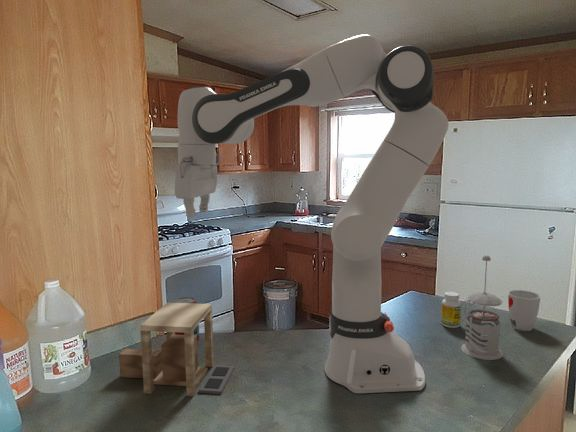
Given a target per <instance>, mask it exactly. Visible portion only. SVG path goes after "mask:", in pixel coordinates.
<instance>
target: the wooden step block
mask: <svg viewBox="0 0 576 432" xmlns="http://www.w3.org/2000/svg"><path fill="white" fill-rule="evenodd" d="M160 346H161V347H160V348H161V349H160V350H156V349H152V364H153V382H154V385H163V386H177V387H178V386H182V387H187V385H186V363H185V341H184V335H173V334H172V335H171V336H170V337H169V338H168V339H167V338H166V340H165V342H163V343H162V344H161V345H160ZM194 350H195V374H196V388H197V387H199V385H200V383H201V381H202V380H203V379H204V377H205V375H206V373H208V367H206V366H205V367H203V366H199V354H198V353H199V352H198V342H197V336H196V335H194ZM118 363H119V364H118V365H119V377H120V378H133V379H143V366H142V349H140V348H139V349H138V348H124V349H123V350H121V352H120V353H118Z"/></svg>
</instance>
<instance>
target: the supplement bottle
mask: <svg viewBox="0 0 576 432" xmlns="http://www.w3.org/2000/svg"><path fill="white" fill-rule="evenodd" d="M443 296H444V299H442V301H441V314H440V315H441V317H440V318H441V320H440V323H441V325H442V326H443V327H446V328H451V329H455V328H456V329H457V328H459V327H460V326H461V321H462V320H461V317H462V315H461V316H460V307H461V304H462V302H461V301H460V293H458V292H455V291H446V292H444V295H443ZM461 308H462V307H461Z"/></svg>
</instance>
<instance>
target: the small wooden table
mask: <svg viewBox="0 0 576 432" xmlns="http://www.w3.org/2000/svg"><path fill="white" fill-rule="evenodd" d="M212 306H213V304H212V303H175V302H167V303H165V304H163V306H162V307H161V308H159V309H158V310H156V311H155V312H154V313H153V314H152V315H151V316H149V317H148V318H147V319H146V320H144V321H143V322H142V323H141V324H140V325H139V328H140V329H139V330H140V332H139V333H140V343H141V344H140V345H141V347H140V348H141V350H142V366H143V378H142V381H143V382H142V383H143V393H144V394H150V395H151V394H152V393H153V391H154V390H155V384H154V382H153V381H154V379H153V364H152V350H153V349H152V335H151V334H152V332H163V333H164V332H165V333H166V340H167V339H168V338H169V337H170V336H171V335H172V334H173V335H175V332H183V333H184V341H185V363H186V385H187V386H186V396H187V397H195V395H196V393H197V387H196V374H195V350H194V329H195V328H196V327H197V326H198V324H199V325H200V323H201V322H202V321H203V322H204V324H203V325H204V326H203V327H204V328H203V329H204V351H205V352H204V353H205V367H207V368H212V367H213V366H214V365H215V357H214V332H213V331H214V329H213V307H212Z"/></svg>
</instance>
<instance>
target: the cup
mask: <svg viewBox="0 0 576 432" xmlns="http://www.w3.org/2000/svg"><path fill="white" fill-rule="evenodd" d="M507 293H508V296H507V298H508V299H507V301H508V302H507V305H508V316H509V320H510V323H511V327H512V328H513V329H515V330H517V331H522V332H523V331H524V332H529V331H532V330H533V327H534V326H535V323H536V322H537V317H538V314H539V309H540V304H541V295H540V294H539V293H536V292H534V291H533V292H532V291H529V290H522V289H513V290H509V291H507Z"/></svg>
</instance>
